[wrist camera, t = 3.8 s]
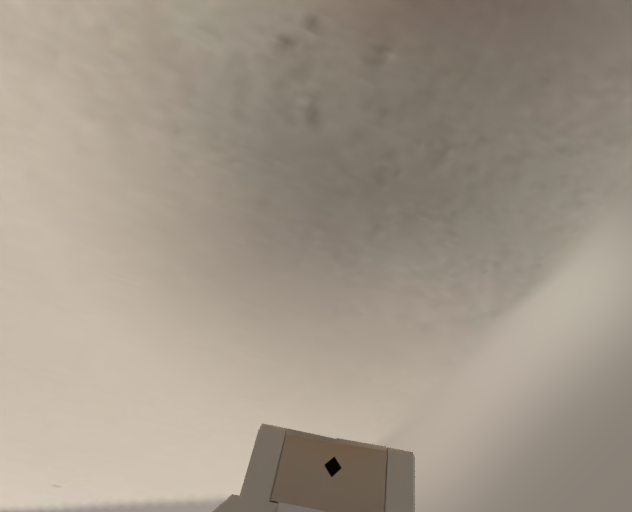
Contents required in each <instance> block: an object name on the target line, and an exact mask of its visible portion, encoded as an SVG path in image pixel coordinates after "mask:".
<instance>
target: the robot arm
mask: <svg viewBox="0 0 632 512" xmlns="http://www.w3.org/2000/svg"><path fill="white" fill-rule="evenodd" d="M414 460H415V458H414V455H413V452H409V451H403V450H398V449H393V448H386V447H385V446H379V445H374V444H368V443H362V442H356V441H351V440H345V439H339V438H337V439H334V438H330V437H325V436H320V435H316V434H311V433H306V432H302V431H297V430H292V429H287V428H282V427H277V426H272V425H267V424H262V425H261V427H260V429H259V431H258V434H257V438H256V441H255V445H254V448H253V452H252V455H251V459H250V462H249V466H248V469H247V473H246V476H245V479H244V483H243V486H242V490H241V493H240V496H239V495H233V494H232V495H231V496H230V497H229V498H228V499H227V500H225V501H224V502H223V503H222V504H221V505H220V506H218V507H217V508H216V509H215V510H214V511H213V512H415V484H414V483H415V476H414V475H415V473H414V472H415V461H414Z"/></svg>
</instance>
